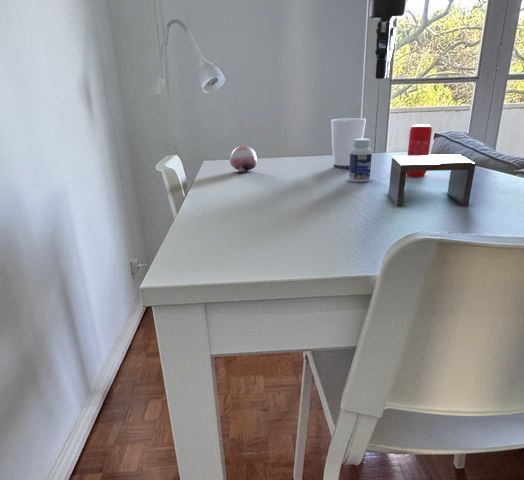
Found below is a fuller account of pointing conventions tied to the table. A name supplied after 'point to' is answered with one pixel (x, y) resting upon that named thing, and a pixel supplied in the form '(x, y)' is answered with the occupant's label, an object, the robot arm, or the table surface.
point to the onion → (243, 158)
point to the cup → (345, 138)
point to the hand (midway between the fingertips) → (381, 78)
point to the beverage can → (419, 145)
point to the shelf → (456, 163)
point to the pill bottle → (360, 161)
